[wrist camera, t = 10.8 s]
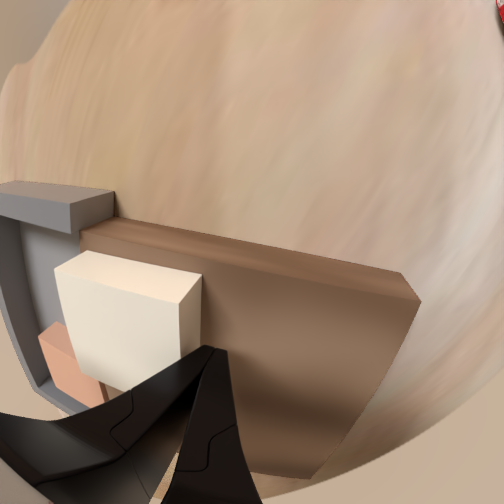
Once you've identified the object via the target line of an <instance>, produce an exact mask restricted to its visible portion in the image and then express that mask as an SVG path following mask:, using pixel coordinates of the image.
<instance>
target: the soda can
mask: <svg viewBox="0 0 504 504" xmlns="http://www.w3.org/2000/svg"><path fill="white" fill-rule="evenodd" d="M496 4H497V7H498V11H499V14H500V16H501V18H502V21H503V24H504V0H496Z"/></svg>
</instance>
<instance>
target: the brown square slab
mask: <svg viewBox="0 0 504 504" xmlns="http://www.w3.org/2000/svg"><path fill="white" fill-rule="evenodd" d="M79 240H80V254H81V253H83V252H85V251H87V250H88V251H93V252H97V253H101V254H106V255H110V256H115V257H119V258H124V259H129V260H133V261H138V262H143V263H147V264H152V265H157V266H162V267H167V268H172V269H177V270H182V271H187V272H192V273H197V274H202V289H201V325H200V346H201V345H204V344H206V345H210V346H213V347H215V348H221V349H225V350H227V351H228V358H229V366H230V374H231V381H232V389H233V396H234V403H235V410H236V417H237V425H238V430H239V436H240V441H241V445H242V449H243V453H244V456H245V460H246V463H247V465H248V468H249V471H250V472H255V473H261V474H267V475H274V476H281V477H289V478H299V479H311V477H312V476H313V475H314V474H315V473H316V472H317V471H318V469H319V468H320V467H321V466H322V465H323V464H324V462H325V461H326V460H327V459H328V458H329V456H330V455H331V454H332V453H333V451H334V450H335V449H336V448H337V446H338V445H339V444H340V442H341V441H342V440H343V438H344V437H345V436H346V434H347V433H348V432H349V430H350V429H351V427H352V426H353V425H354V423H355V422H356V420H357V419H358V417H359V416H360V415H361V413H362V412H363V410H364V409H365V407H366V406H367V404H368V402H369V401H370V399H371V398H372V396H373V395H374V393H375V391H376V390H377V388H378V386H379V385H380V383H381V381H382V380H383V378H384V376H385V374H386V373H387V371H388V369H389V367H390V366H391V364H392V362H393V360H394V358H395V356H396V354H397V353H398V351H399V349H400V347H401V345H402V343H403V341H404V339H405V337H406V335H407V333H408V330H409V328H410V326H411V324H412V322H413V320H414V317H415V315H416V313H417V311H418V308H419V306H420V304H421V300H420V299H419V298H418V296H417V295H416V293H415V292H414V291H413V289H412V288H411V286H410V285H409V284H408V282H407V281H406V280H405V278H404V277H403V276H402V274H401V273H398V272H393V271H388V270H384V269H379V268H374V267H369V266H364V265H360V264H355V263H350V262H345V261H340V260H335V259H331V258H326V257H321V256H316V255H311V254H306V253H301V252H296V251H291V250H286V249H281V248H276V247H271V246H266V245H261V244H256V243H251V242H246V241H241V240H236V239H231V238H225V237H220V236H215V235H210V234H205V233H200V232H194V231H189V230H184V229H179V228H174V227H168V226H163V225H158V224H152V223H147V222H142V221H136V220H131V219H126V218H120V217H115V216H113V217H110V218H108V219H105V220H103V221H100V222H98V223H96V224H93V225H91V226H88V227H86V228H84V229H81V230H79ZM105 387H106V390H107V393H108V396H109V399H110V400H111V399H113V398H115V397H117V396H118V395H120V394H122V393H124V392H123V391H121V390H118V389H116V388H114V387H111V386H109V385H107V384H105ZM182 441H183V440H182ZM181 445H182V442H181V444H180V446H179V448H178V450H177V453H179V452H180V448H181Z"/></svg>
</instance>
